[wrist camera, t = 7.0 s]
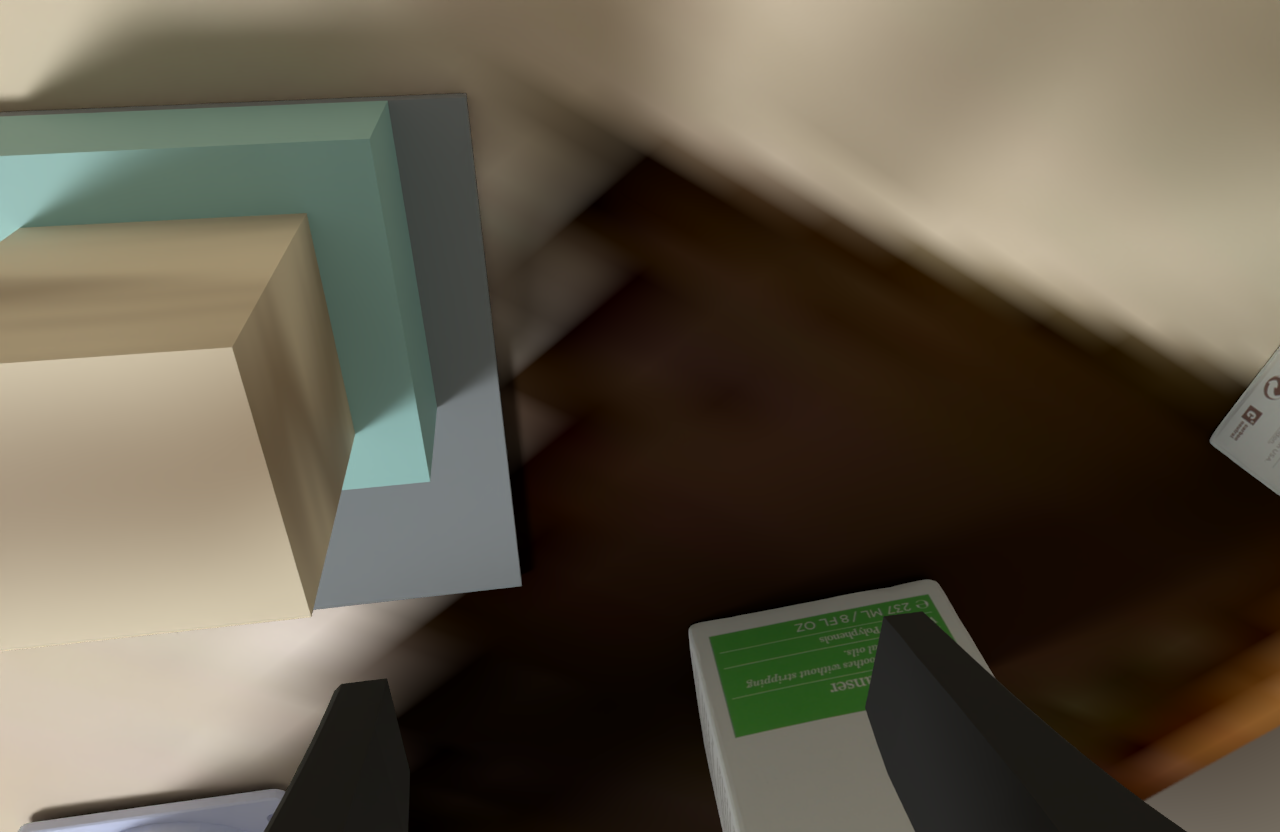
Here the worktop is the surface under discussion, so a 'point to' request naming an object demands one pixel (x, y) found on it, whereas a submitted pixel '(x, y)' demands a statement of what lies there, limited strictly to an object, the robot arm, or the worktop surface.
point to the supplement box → (1255, 427)
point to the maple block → (165, 428)
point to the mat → (462, 377)
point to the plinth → (252, 186)
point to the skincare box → (804, 710)
